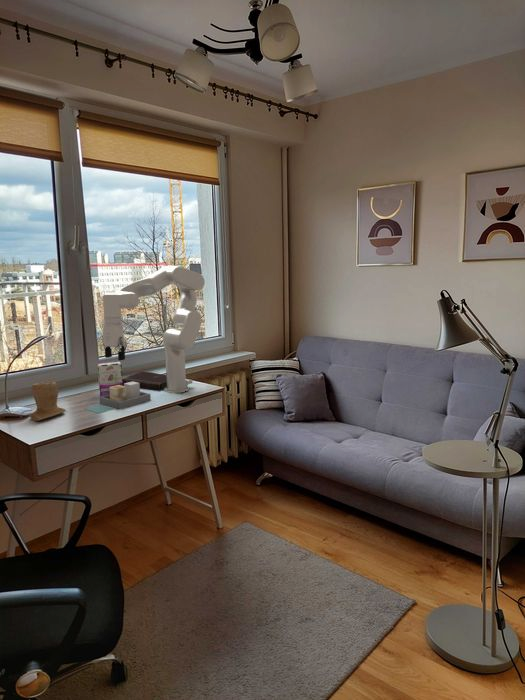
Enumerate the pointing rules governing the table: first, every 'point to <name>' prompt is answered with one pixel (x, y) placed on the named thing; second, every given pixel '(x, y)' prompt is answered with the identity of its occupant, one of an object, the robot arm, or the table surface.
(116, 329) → the robot arm
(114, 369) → the candy bar box
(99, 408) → the mat
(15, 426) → the table surface
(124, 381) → the diary
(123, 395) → the labelled block
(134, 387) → the grey block
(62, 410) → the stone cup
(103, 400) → the parts bin
